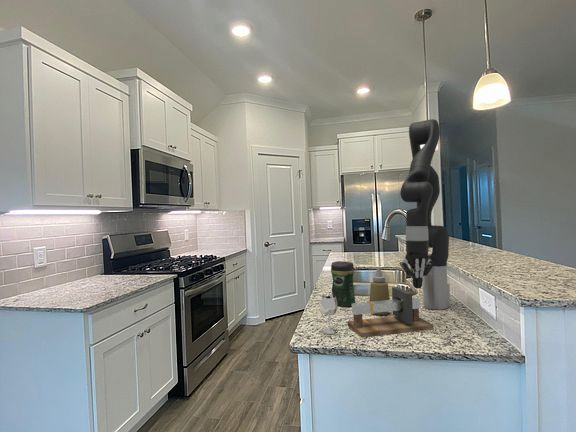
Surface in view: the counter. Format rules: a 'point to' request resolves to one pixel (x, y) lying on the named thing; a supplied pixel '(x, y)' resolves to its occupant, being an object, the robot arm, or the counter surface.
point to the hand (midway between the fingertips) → (417, 287)
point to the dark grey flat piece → (407, 310)
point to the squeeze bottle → (379, 289)
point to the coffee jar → (343, 282)
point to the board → (387, 325)
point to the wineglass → (329, 309)
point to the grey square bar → (381, 306)
